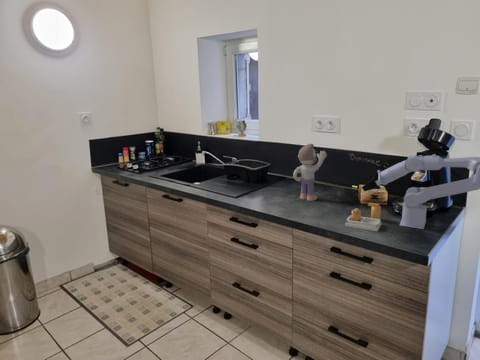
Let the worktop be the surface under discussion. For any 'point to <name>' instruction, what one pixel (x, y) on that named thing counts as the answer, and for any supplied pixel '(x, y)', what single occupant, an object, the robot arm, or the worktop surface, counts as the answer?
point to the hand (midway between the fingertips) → (364, 187)
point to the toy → (308, 170)
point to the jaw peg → (375, 210)
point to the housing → (362, 221)
